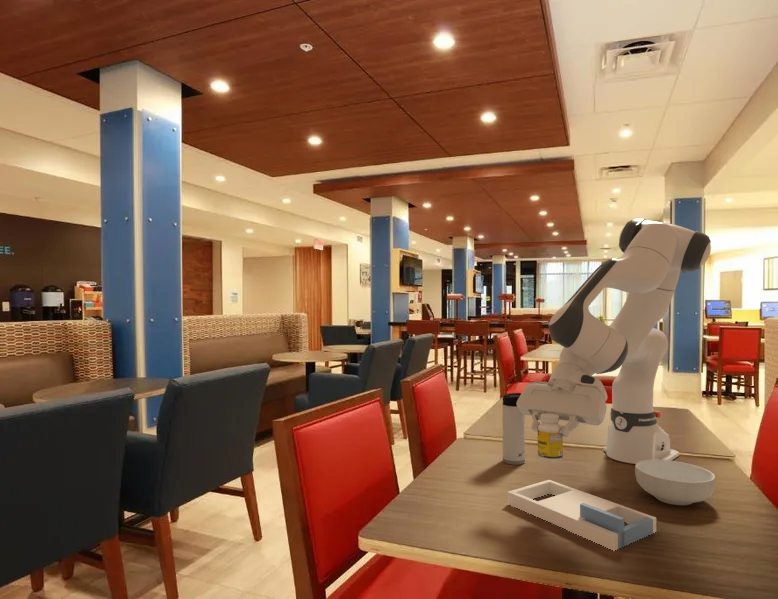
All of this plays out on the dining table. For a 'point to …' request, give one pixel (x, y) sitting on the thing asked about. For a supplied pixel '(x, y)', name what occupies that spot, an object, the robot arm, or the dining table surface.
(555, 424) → the supplement bottle
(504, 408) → the travel mug
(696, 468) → the cereal bowl
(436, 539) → the dining table surface
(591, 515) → the pocket rack
